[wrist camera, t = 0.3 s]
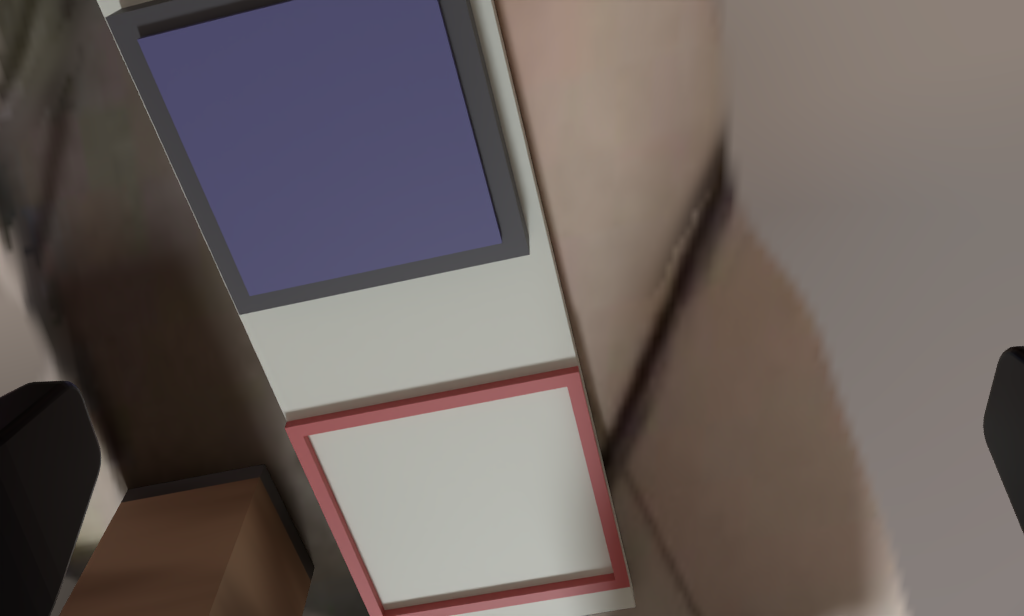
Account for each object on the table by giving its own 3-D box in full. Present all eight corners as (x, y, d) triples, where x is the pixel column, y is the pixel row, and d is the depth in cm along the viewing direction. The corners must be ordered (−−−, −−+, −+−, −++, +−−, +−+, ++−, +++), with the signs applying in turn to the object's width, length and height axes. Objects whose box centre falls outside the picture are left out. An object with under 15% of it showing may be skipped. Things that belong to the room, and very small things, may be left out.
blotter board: (633, 588, 30) (639, 635, 28) (391, 627, 31) (384, 674, 29) (464, -123, 19) (459, -115, 17) (101, -29, 20) (64, -12, 18)
